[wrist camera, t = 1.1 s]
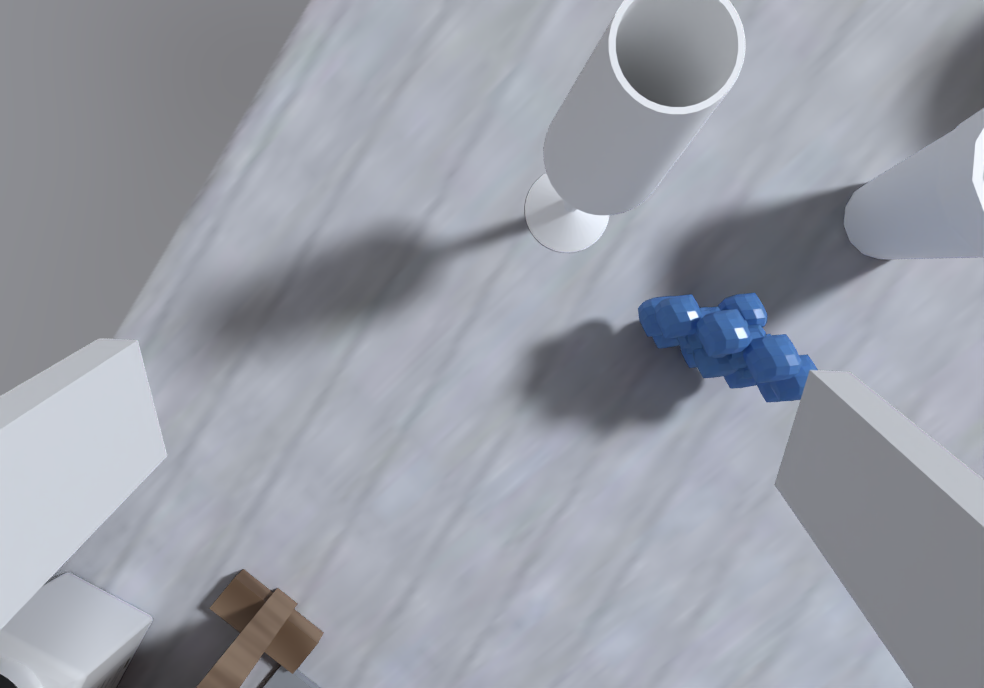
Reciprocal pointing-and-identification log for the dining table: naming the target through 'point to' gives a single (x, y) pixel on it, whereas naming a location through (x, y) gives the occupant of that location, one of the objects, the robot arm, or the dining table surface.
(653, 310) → the grapes
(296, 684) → the mat
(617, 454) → the dining table surface
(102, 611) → the container
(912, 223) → the foam cup
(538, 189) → the champagne flute
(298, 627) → the screen
